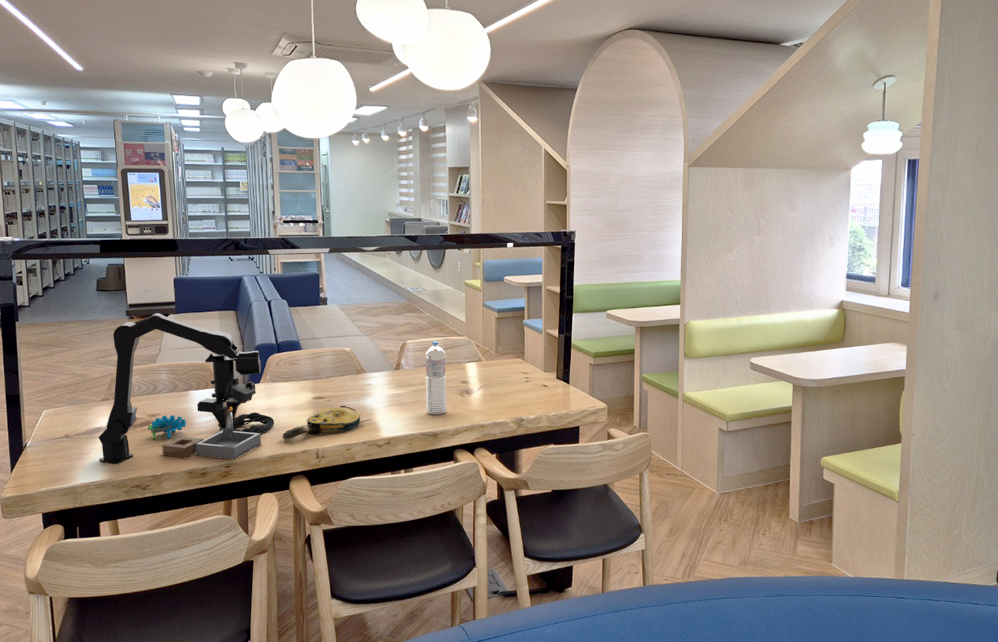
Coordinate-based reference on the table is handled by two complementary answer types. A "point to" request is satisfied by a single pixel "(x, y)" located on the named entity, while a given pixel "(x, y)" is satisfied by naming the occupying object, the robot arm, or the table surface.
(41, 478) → the table surface
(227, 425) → the pin
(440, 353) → the water bottle
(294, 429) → the pulley block
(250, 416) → the cable
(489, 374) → the table surface
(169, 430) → the gear
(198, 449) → the tray
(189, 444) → the block
